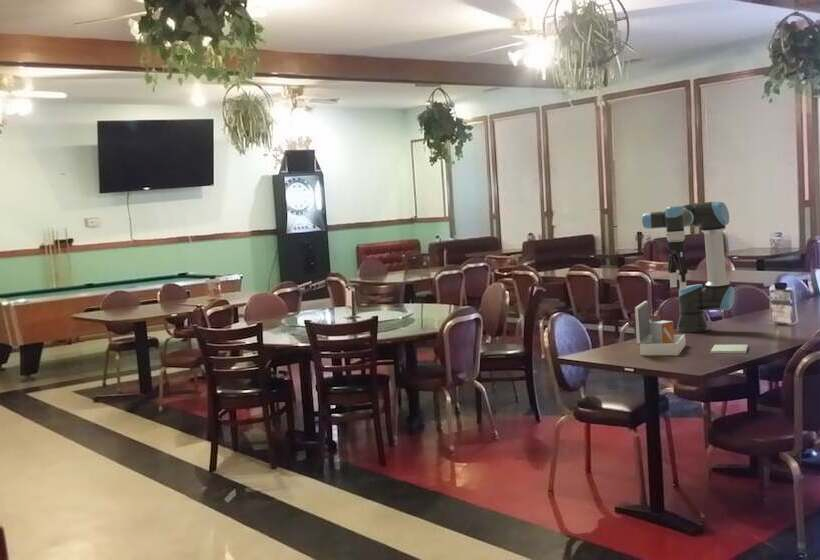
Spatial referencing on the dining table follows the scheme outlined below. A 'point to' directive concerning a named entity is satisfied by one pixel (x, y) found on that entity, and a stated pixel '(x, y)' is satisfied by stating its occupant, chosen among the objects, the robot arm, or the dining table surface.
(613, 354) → the dining table surface
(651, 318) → the coffee pot
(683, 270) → the robot arm
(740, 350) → the sage mat
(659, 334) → the small box
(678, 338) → the equipment case
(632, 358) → the dining table surface
